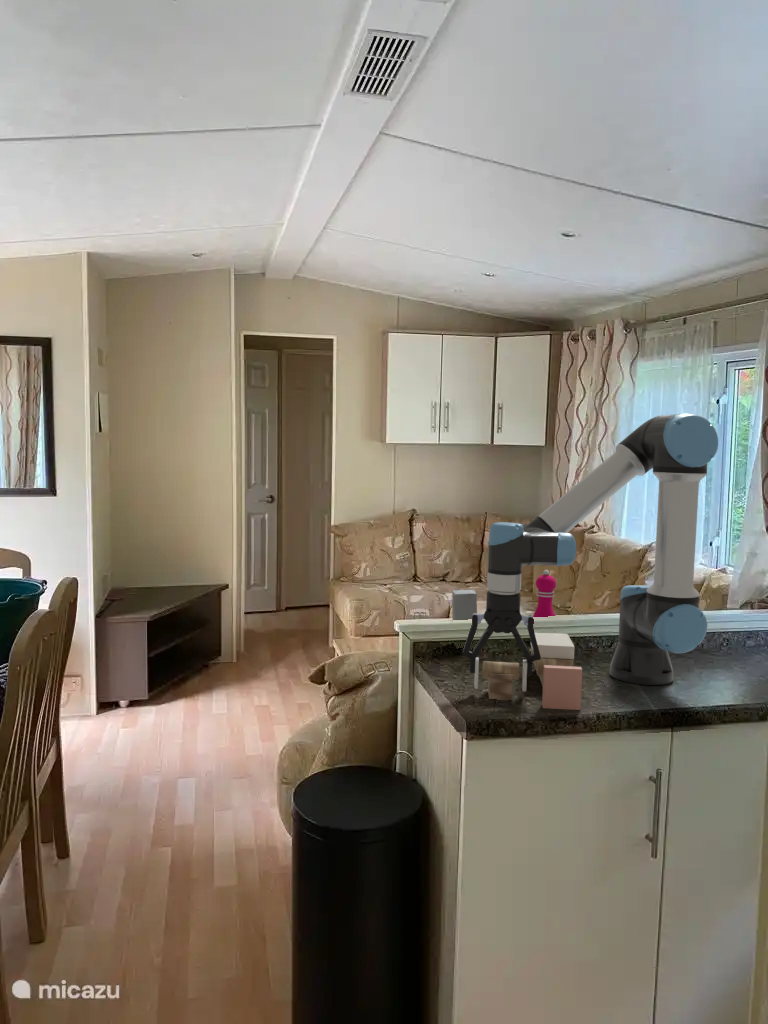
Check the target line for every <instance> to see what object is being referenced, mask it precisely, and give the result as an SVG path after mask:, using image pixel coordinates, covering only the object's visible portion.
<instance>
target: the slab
mask: <svg viewBox="0 0 768 1024" xmlns="http://www.w3.org/2000/svg"><path fill="white" fill-rule="evenodd" d="M534 633H535V637H536V641H537V645H538V648H539V652H540V656H541V658H559V659H570V660H575V649H576V648H575V645H574V643H573V641H572V640H571V638H570V636H569V634H568V633H555V632H554V633H537V632H534ZM530 646H532V644H531V643H530ZM532 649H533V648H532Z"/></svg>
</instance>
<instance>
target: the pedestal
mask: <svg viewBox="0 0 768 1024" xmlns="http://www.w3.org/2000/svg"><path fill="white" fill-rule="evenodd" d="M512 678H513V675H512V674H497V673H490V679H489V678H488V682H487V683H488V688H487V689H488V690H487V692H488V700H489V699H497V700H496V701H508V700H512V699H513V680H512ZM512 701H513V700H512Z"/></svg>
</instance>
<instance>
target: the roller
mask: <svg viewBox="0 0 768 1024" xmlns="http://www.w3.org/2000/svg"><path fill="white" fill-rule="evenodd" d="M490 673H497V674H512V675H513V678H512V681H513V680H514V681H519V680H520V679H519V678H520V663H519V662H507V661H489V660H488V661H487V660H483V661H482V679H488V680H489V679H490Z"/></svg>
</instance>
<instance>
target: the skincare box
mask: <svg viewBox="0 0 768 1024" xmlns="http://www.w3.org/2000/svg"><path fill="white" fill-rule="evenodd" d="M451 593H452V595H451V596H452V599H451V600H452V601H451V602H452V604H451V605H452V606H451V607H452V609H451V610H452V613H451V614H452V621H453V620H468V619H472V614H473V613H477V614H478V604H477V603H478V602H477V601H478V600H477V599H478V597H477V596H478V595H477V593H476V590H474V589H453V590H452V592H451Z"/></svg>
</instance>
